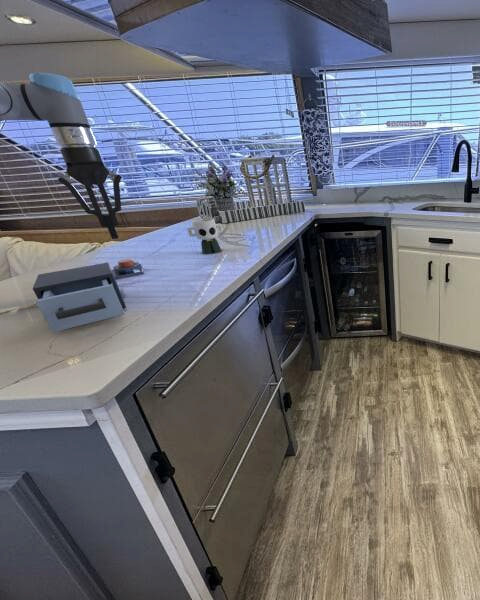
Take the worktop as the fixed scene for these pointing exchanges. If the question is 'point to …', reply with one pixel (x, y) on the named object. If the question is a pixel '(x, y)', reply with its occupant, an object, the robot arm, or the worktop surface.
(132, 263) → the button
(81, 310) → the drawer
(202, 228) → the character mug
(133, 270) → the panel
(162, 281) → the worktop surface
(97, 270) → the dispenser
